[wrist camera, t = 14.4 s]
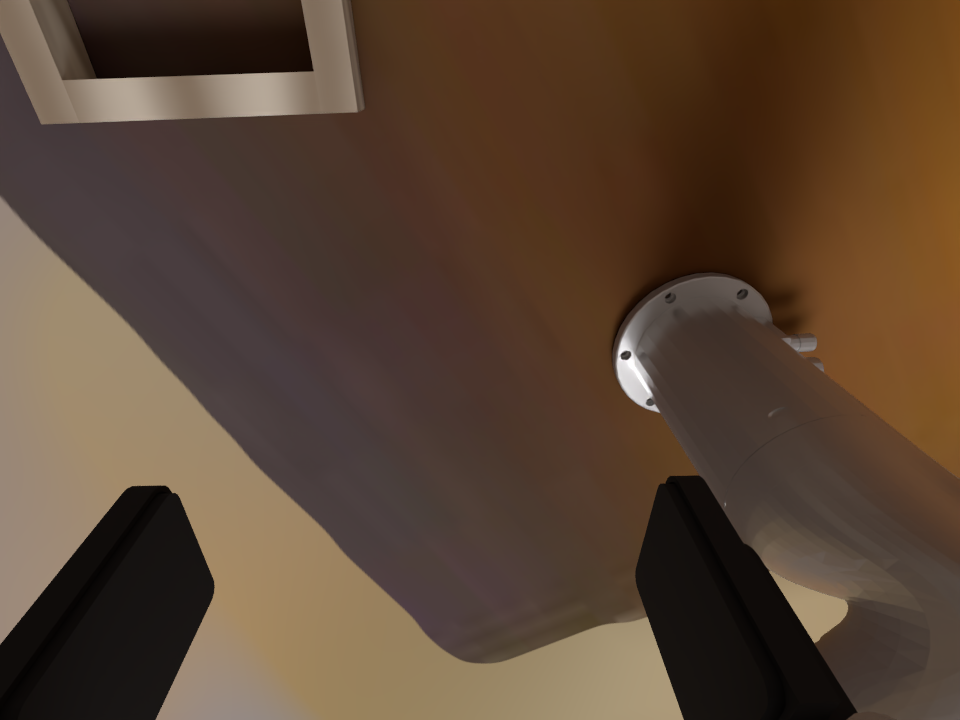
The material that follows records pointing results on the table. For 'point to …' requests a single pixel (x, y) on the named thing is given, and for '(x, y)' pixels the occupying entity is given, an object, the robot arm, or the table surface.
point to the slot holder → (83, 98)
